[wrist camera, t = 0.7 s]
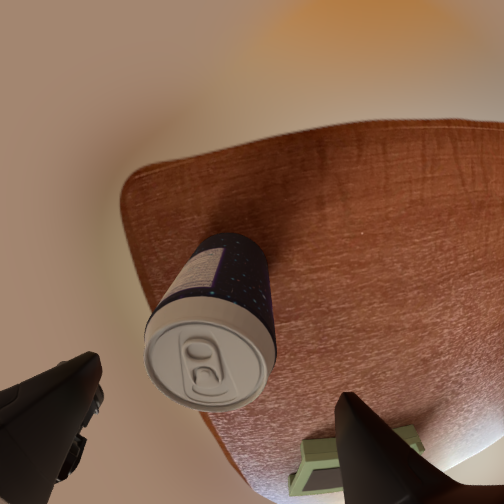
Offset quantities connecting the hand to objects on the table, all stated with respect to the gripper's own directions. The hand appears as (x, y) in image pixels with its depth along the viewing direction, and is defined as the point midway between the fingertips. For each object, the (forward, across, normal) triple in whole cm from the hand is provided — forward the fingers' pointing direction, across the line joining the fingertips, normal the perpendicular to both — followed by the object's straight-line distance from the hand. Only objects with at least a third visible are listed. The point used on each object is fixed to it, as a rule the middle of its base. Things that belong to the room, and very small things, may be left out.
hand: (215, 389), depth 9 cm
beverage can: (+13, +1, 0) cm, 13 cm away
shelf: (+13, -18, +27) cm, 35 cm away
